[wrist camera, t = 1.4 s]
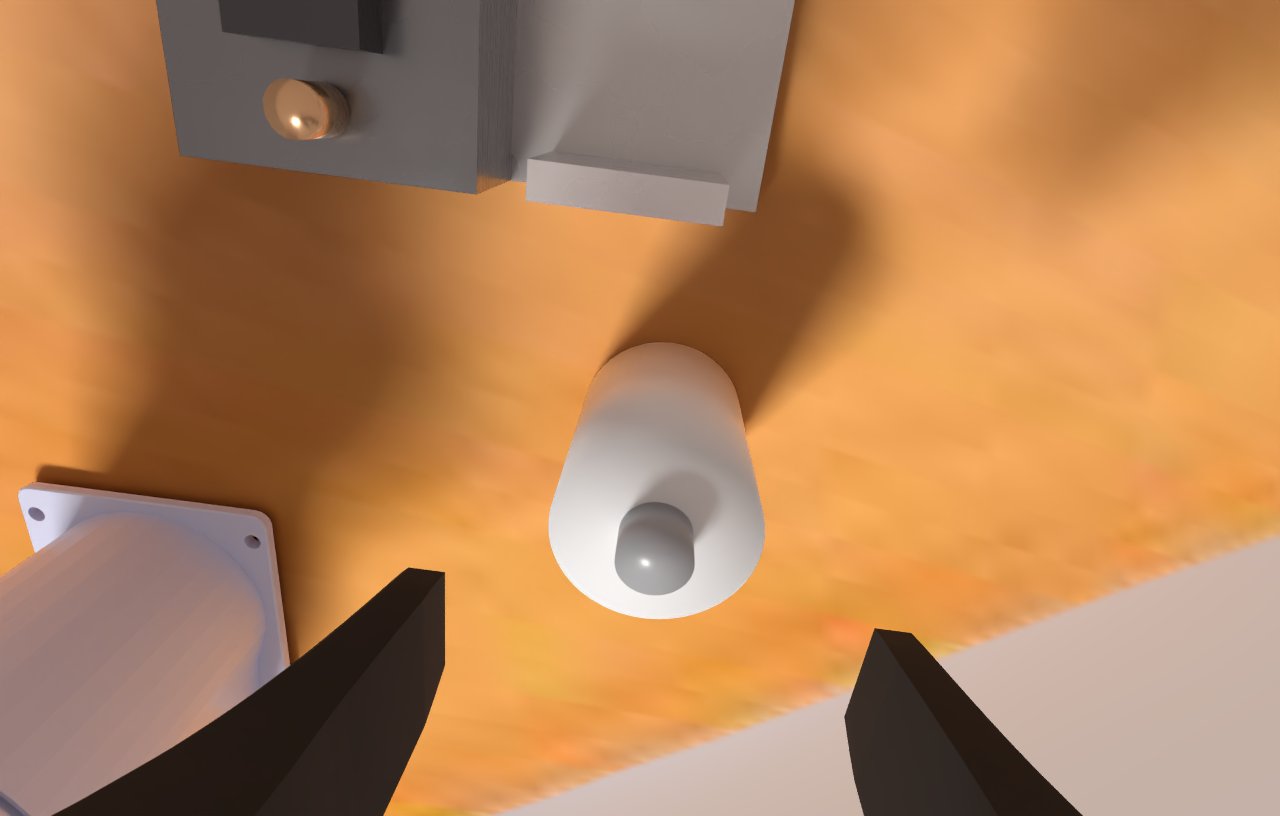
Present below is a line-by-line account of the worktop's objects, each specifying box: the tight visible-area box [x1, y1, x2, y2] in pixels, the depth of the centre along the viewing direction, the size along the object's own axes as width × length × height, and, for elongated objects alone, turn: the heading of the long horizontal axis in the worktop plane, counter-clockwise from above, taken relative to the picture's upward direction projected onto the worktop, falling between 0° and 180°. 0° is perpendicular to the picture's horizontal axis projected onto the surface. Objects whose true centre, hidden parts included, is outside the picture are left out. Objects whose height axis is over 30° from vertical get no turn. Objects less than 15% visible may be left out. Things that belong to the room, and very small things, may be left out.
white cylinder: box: [549, 342, 765, 619], centre depth 16 cm, size 5×5×7 cm
